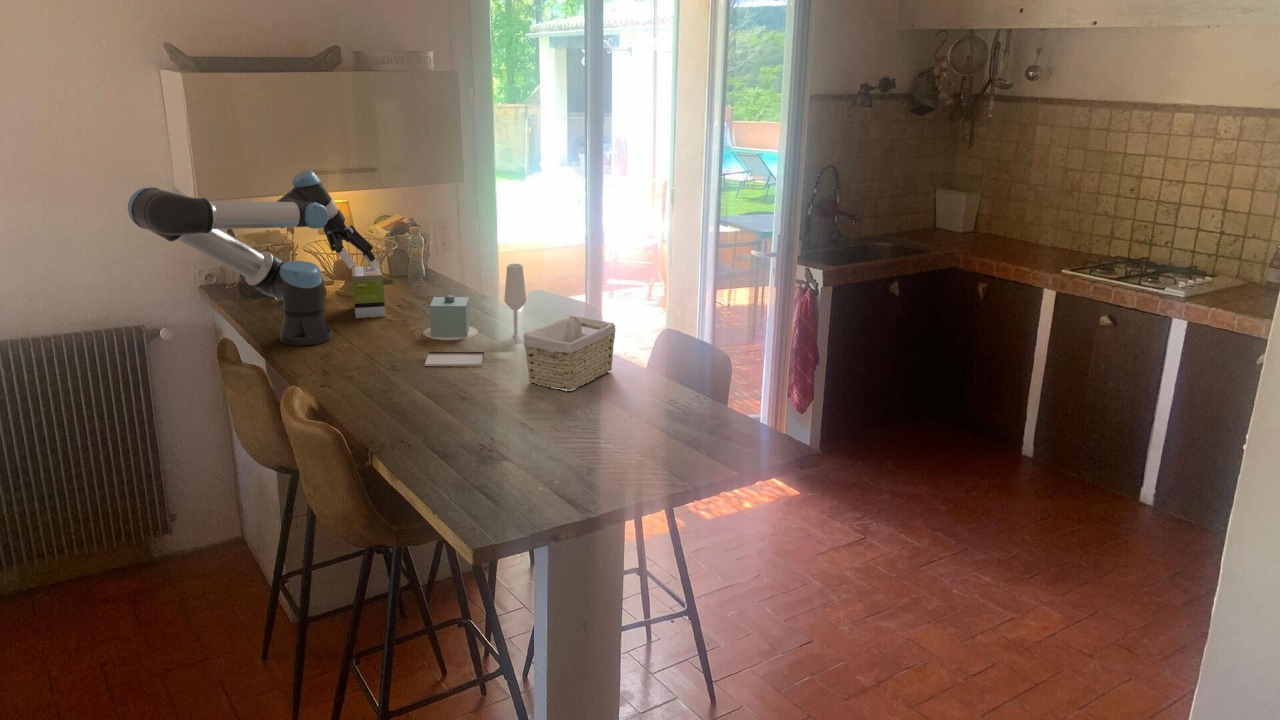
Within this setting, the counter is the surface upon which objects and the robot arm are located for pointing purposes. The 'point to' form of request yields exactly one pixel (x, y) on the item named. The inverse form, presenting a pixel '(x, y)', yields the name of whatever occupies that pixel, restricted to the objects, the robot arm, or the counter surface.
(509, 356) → the counter surface
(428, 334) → the plate
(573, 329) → the storage basket
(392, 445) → the counter surface
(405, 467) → the counter surface
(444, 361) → the mat
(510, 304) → the champagne flute
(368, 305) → the tea box
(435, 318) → the cover
